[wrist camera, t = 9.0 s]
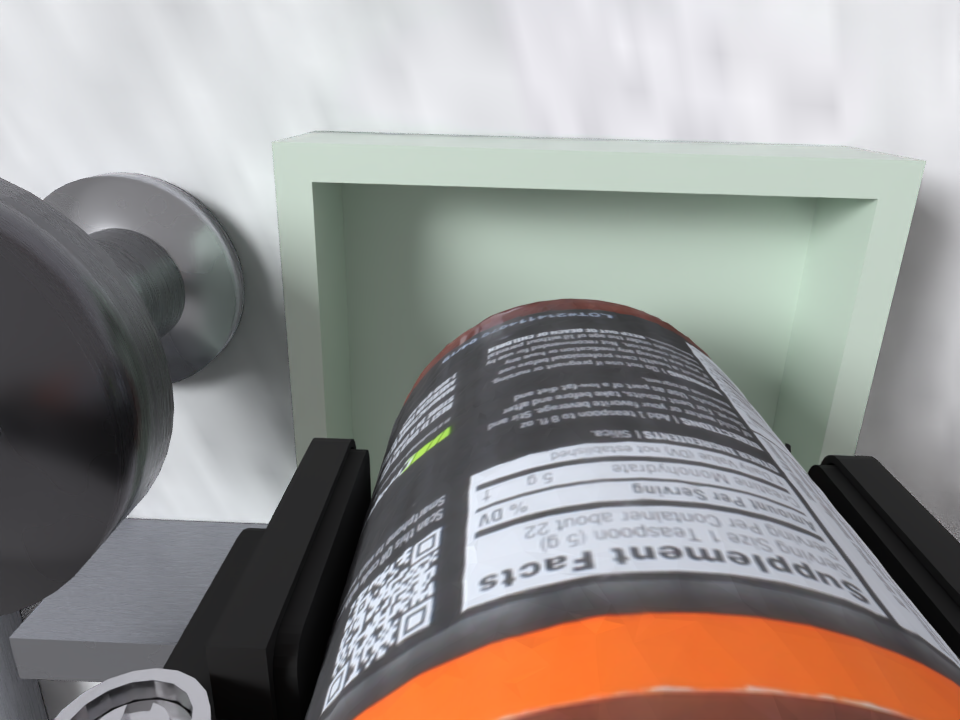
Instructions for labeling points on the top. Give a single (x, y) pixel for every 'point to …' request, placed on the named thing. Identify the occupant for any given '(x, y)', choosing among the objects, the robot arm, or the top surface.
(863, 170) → the tray
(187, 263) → the pulley
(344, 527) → the robot arm
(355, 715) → the supplement bottle
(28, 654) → the bracket
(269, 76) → the top surface
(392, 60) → the top surface
